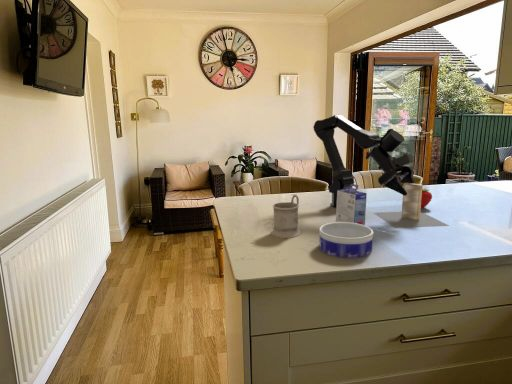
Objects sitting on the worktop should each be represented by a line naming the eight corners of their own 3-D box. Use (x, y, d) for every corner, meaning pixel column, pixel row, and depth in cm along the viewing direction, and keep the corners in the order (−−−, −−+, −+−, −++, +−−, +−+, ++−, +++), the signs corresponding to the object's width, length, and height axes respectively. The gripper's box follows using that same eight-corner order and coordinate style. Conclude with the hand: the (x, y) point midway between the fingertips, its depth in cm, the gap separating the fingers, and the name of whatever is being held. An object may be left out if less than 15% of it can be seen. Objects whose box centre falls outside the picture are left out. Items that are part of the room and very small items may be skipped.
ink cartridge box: (366, 226, 125) (367, 186, 123) (354, 229, 123) (355, 188, 120) (346, 220, 134) (348, 182, 131) (335, 222, 132) (336, 183, 129)
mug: (292, 239, 114) (292, 203, 111) (265, 234, 119) (265, 199, 117) (310, 227, 126) (311, 194, 123) (285, 223, 131) (285, 191, 128)
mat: (395, 228, 122) (395, 227, 122) (373, 213, 142) (373, 212, 142) (449, 226, 124) (449, 225, 123) (419, 211, 143) (419, 210, 143)
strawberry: (424, 211, 144) (426, 187, 142) (409, 207, 150) (410, 184, 148) (434, 209, 146) (436, 185, 144) (418, 205, 153) (420, 182, 151)
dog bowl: (381, 257, 99) (382, 236, 97) (326, 260, 98) (327, 239, 96) (361, 239, 114) (361, 220, 112) (313, 241, 112) (313, 222, 111)
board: (401, 217, 135) (403, 183, 132) (403, 216, 136) (406, 182, 133) (417, 220, 130) (420, 185, 128) (419, 219, 132) (422, 184, 129)
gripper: (388, 147, 123) (418, 182, 117) (411, 143, 135) (439, 175, 130) (366, 168, 130) (393, 202, 124) (389, 163, 142) (416, 193, 137)
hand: (411, 192), depth 129 cm, fingers open, 9 cm apart
